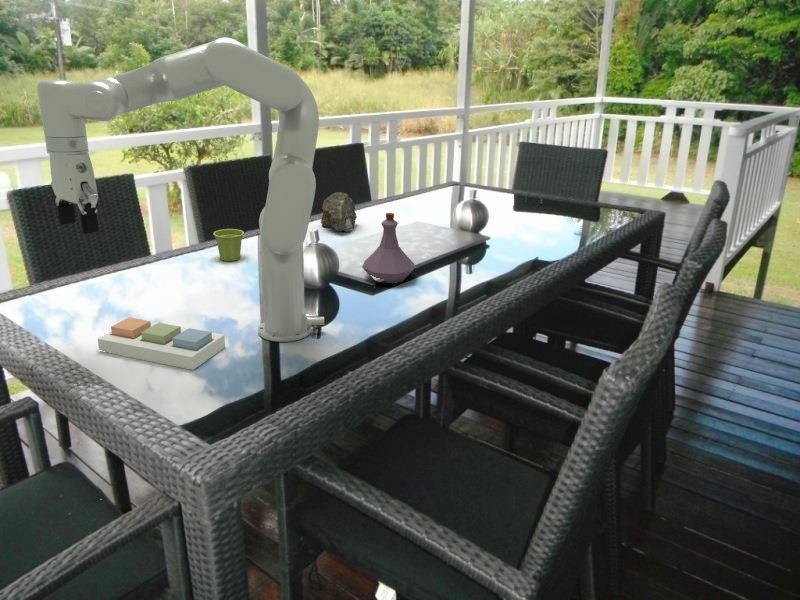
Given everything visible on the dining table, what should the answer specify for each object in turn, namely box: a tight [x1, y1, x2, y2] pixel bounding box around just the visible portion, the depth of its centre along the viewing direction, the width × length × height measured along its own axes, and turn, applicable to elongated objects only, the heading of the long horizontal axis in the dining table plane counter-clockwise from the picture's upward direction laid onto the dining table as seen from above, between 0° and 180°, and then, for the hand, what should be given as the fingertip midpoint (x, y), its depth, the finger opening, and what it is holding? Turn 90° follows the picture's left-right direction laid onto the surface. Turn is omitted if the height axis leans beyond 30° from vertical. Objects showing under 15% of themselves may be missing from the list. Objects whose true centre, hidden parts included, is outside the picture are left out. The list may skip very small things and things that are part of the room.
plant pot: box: [213, 228, 245, 262], centre depth 201 cm, size 9×9×9 cm
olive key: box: [141, 322, 182, 345], centre depth 139 cm, size 6×6×2 cm
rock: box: [320, 191, 358, 233], centre depth 239 cm, size 18×14×15 cm
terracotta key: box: [110, 317, 152, 339], centre depth 141 cm, size 6×6×2 cm
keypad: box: [97, 321, 226, 371], centre depth 139 cm, size 24×12×3 cm, turn 72°
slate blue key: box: [172, 327, 213, 351], centre depth 136 cm, size 6×6×2 cm
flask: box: [361, 212, 415, 285], centre depth 186 cm, size 16×16×20 cm
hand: (78, 227), depth 132 cm, fingers open, 9 cm apart
